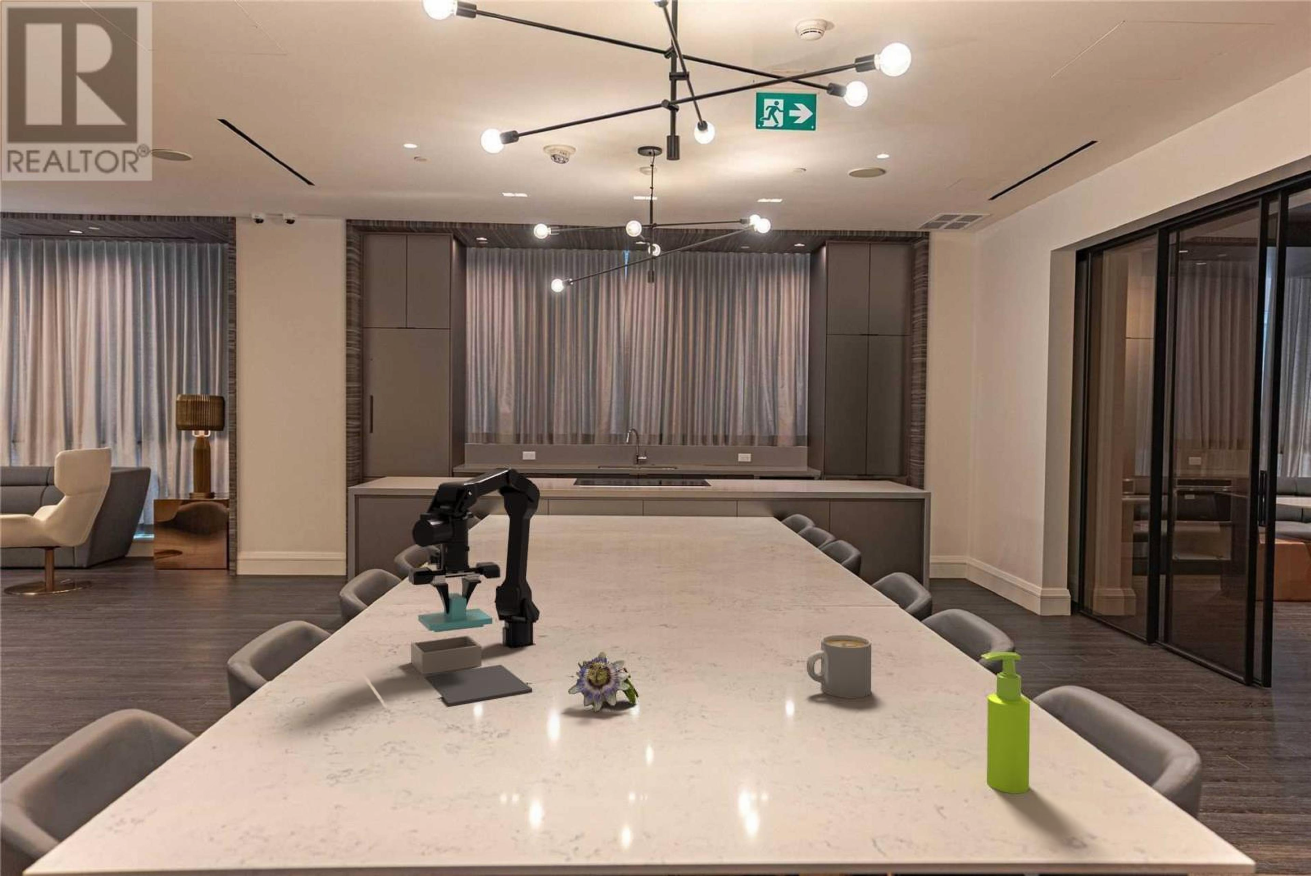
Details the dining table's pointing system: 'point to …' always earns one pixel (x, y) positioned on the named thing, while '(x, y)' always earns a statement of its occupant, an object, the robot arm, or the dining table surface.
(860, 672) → the coffee mug
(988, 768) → the soap dispenser
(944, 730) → the dining table surface
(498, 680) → the rubber mat
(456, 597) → the lid
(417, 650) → the storage box
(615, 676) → the passion flower
